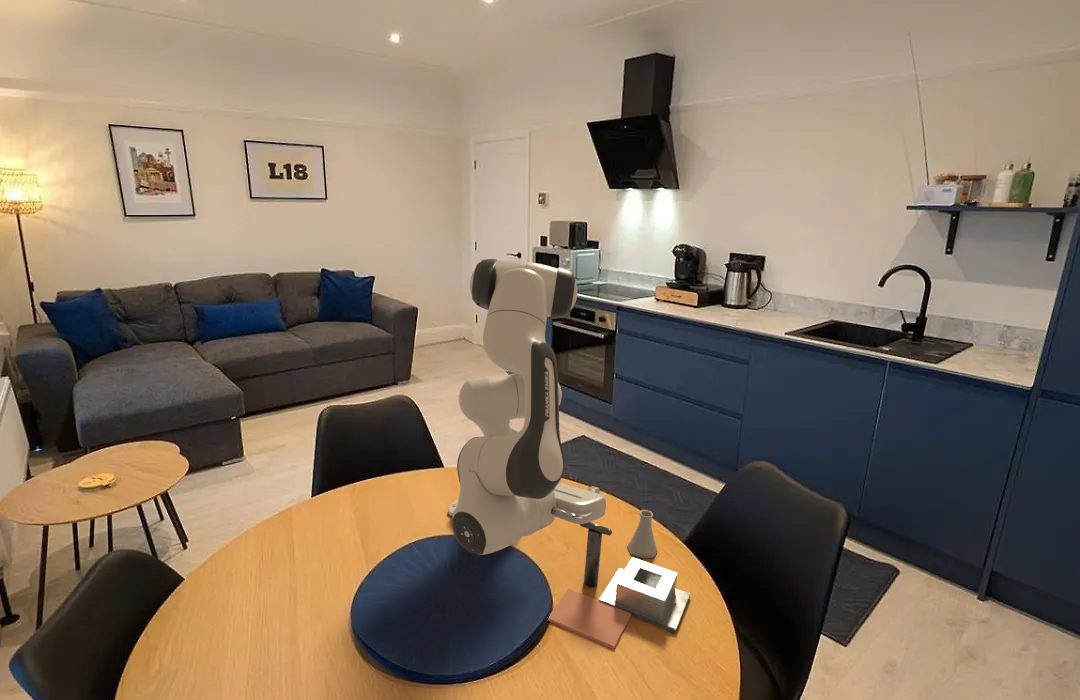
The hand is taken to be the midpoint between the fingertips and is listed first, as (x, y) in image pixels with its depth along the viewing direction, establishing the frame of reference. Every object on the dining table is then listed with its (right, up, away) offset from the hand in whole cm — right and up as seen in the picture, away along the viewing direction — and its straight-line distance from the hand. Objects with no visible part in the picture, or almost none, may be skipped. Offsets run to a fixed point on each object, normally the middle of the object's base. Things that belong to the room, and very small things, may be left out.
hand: (575, 484), depth 107 cm
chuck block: (+15, -26, +9) cm, 32 cm away
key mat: (+3, -27, +3) cm, 28 cm away
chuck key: (+4, -25, +13) cm, 28 cm away
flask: (+18, -22, +26) cm, 39 cm away
